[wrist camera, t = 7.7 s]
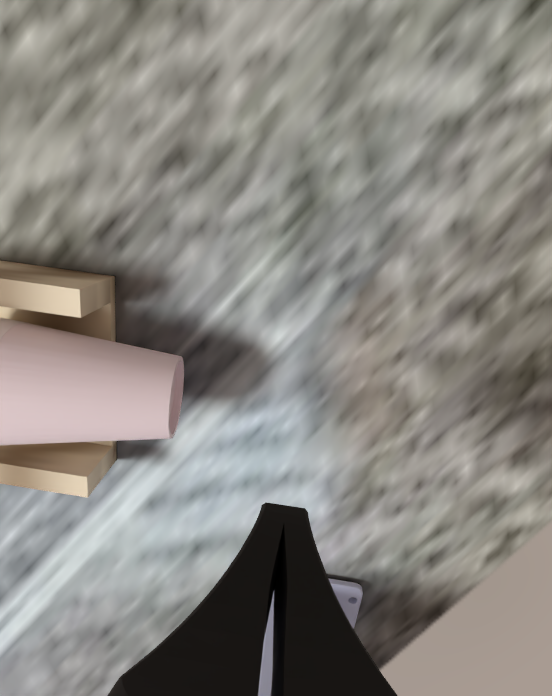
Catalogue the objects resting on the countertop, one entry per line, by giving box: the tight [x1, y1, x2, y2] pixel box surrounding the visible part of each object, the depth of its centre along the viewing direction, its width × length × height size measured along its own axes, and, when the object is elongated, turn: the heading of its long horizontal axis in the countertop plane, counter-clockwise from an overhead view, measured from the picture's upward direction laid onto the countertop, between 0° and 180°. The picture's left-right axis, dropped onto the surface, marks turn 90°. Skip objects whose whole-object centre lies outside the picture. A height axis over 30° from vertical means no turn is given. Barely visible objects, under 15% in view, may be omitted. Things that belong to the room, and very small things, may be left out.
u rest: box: [0, 260, 117, 497], centre depth 20 cm, size 7×10×3 cm
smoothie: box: [0, 317, 184, 445], centre depth 18 cm, size 6×6×14 cm
